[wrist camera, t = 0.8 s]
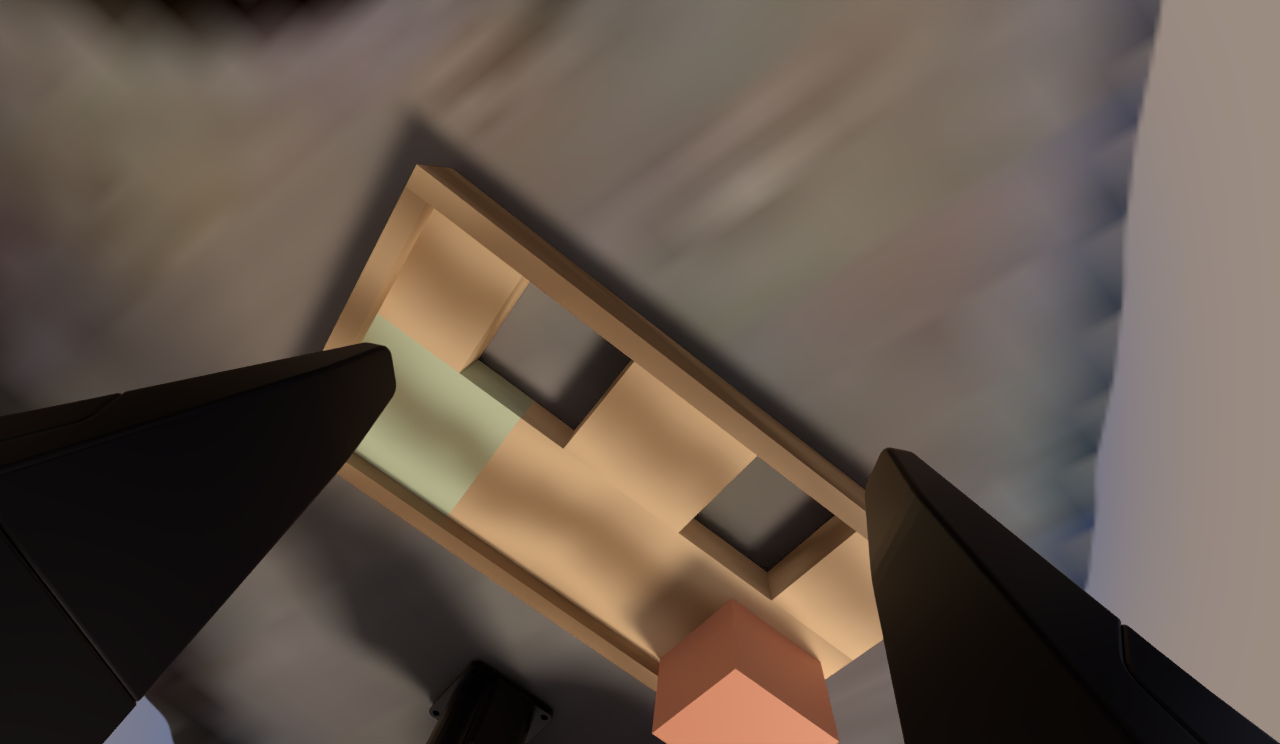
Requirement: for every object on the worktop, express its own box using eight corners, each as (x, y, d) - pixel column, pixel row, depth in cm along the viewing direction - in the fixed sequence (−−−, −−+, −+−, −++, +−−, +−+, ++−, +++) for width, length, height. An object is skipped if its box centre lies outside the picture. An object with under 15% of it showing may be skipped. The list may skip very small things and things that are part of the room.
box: (740, 703, 30) (743, 751, 27) (321, 411, 27) (280, 435, 24) (946, 552, 25) (973, 595, 22) (452, 168, 22) (416, 164, 19)
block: (743, 717, 28) (748, 798, 24) (659, 659, 27) (651, 733, 23) (820, 662, 26) (839, 741, 22) (732, 598, 25) (735, 668, 21)
